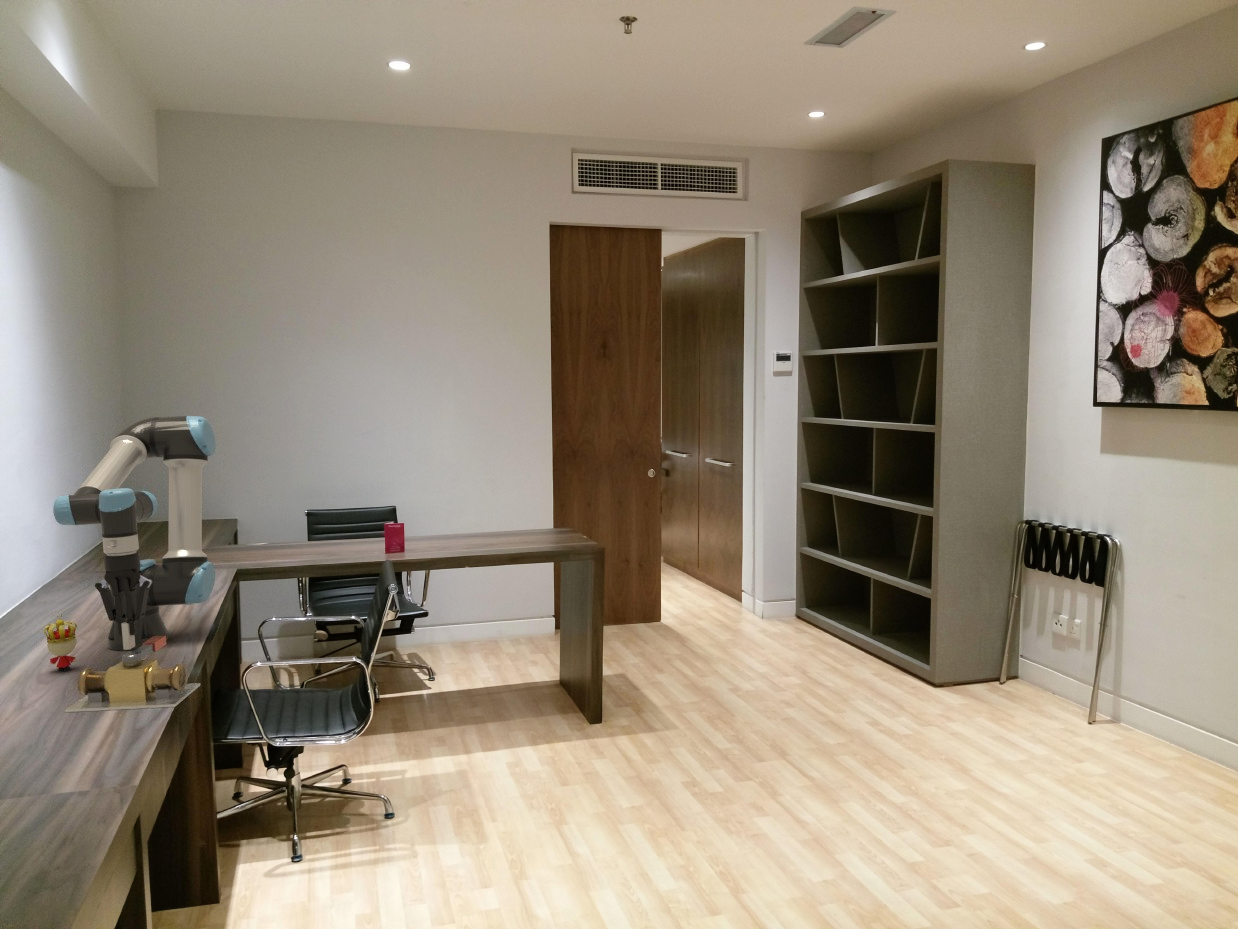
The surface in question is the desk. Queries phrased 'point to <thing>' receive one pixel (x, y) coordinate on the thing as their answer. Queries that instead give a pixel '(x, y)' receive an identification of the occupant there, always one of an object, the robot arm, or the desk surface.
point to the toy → (61, 643)
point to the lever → (143, 651)
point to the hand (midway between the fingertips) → (129, 647)
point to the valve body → (133, 687)
